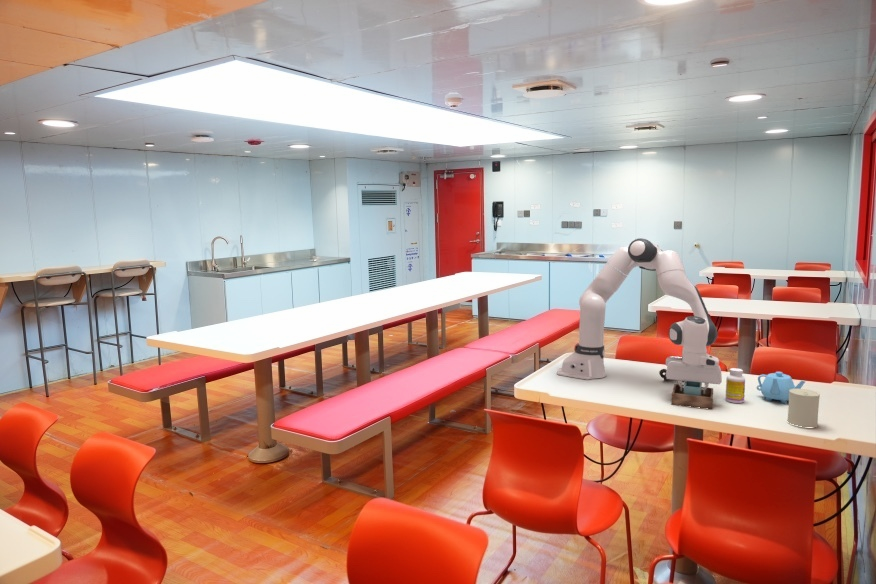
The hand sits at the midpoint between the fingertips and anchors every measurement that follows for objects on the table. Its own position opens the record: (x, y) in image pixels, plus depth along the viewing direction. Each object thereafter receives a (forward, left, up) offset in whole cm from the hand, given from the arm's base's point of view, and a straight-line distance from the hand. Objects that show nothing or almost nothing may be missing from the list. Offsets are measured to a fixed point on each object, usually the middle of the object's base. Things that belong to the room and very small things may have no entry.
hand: (692, 392), depth 228 cm
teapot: (+31, +17, -4) cm, 36 cm away
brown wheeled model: (-9, +27, -4) cm, 29 cm away
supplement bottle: (+15, +8, -4) cm, 18 cm away
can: (+36, -11, -4) cm, 38 cm away
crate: (0, 0, -4) cm, 4 cm away
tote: (0, 0, -2) cm, 2 cm away
